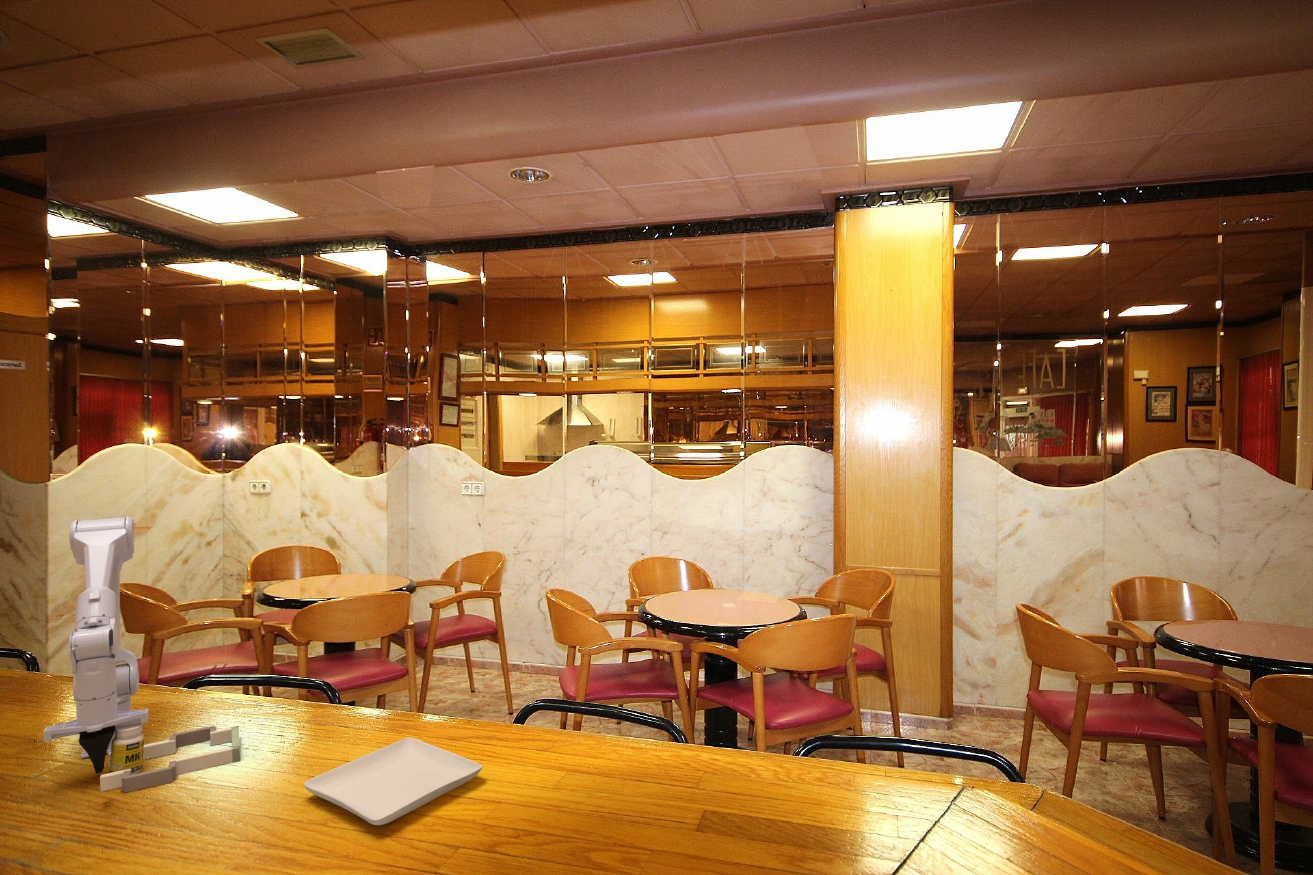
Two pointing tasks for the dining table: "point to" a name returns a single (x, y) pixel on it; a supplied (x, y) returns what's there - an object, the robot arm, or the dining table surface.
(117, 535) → the robot arm
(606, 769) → the dining table surface
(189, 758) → the beige piece
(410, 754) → the salad plate
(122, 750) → the supplement bottle
